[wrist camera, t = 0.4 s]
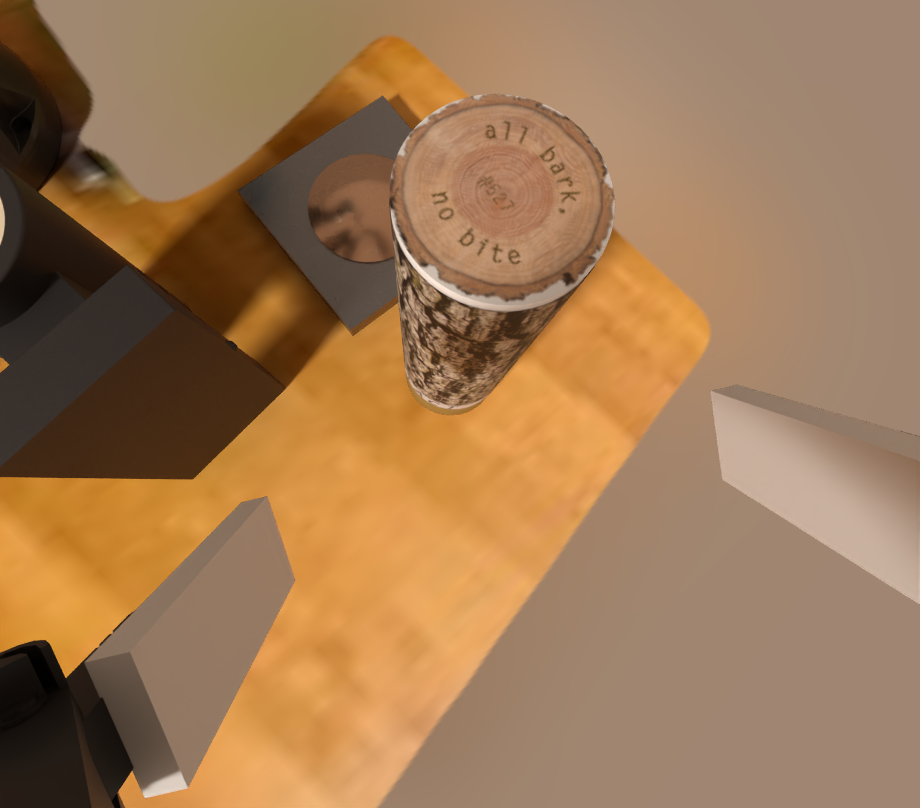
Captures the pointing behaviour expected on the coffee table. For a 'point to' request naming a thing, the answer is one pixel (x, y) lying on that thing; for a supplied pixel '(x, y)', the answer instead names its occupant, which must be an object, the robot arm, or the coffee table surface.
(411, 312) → the paper tube
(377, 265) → the plate
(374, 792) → the coffee table surface
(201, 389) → the light fixture
